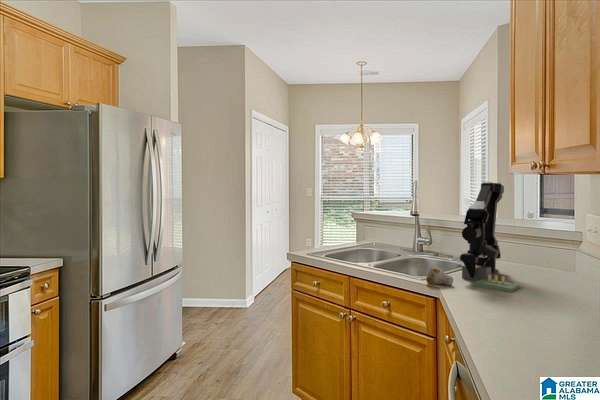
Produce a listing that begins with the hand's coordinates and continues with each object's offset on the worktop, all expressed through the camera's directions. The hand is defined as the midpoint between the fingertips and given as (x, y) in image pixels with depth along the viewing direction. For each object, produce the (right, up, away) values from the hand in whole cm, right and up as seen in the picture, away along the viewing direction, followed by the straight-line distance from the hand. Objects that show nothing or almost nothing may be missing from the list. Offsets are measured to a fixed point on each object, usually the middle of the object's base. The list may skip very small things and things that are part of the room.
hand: (476, 276), depth 188 cm
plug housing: (0, -1, 0) cm, 1 cm away
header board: (+2, -2, -13) cm, 14 cm away
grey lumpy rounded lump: (-18, -2, -9) cm, 20 cm away
